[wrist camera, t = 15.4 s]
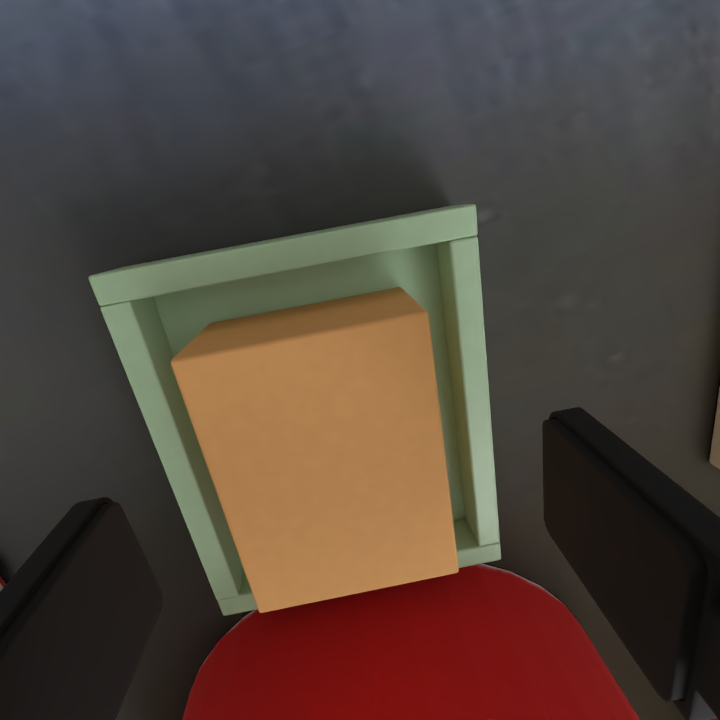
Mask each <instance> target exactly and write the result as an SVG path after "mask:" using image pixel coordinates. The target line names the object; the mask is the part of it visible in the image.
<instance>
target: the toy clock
mask: <svg viewBox="0 0 720 720" xmlns="http://www.w3.org/2000/svg"><path fill="white" fill-rule="evenodd" d="M182 720H640V719H639V718H638V716H637V714H636V713H635V711H634V710H633V708H632V706H631V705H630V703H629V701H628V700H627V698H626V697H625V695H624V693H623V692H622V690H621V689H620V687H619V685H618V684H617V682H616V681H615V679H614V677H613V676H612V674H611V673H610V671H609V669H608V668H607V666H606V664H605V663H604V661H603V660H602V658H601V656H600V655H599V653H598V652H597V650H596V648H595V647H594V645H593V644H592V642H591V640H590V639H589V637H588V635H587V634H586V632H585V631H584V629H583V627H582V626H581V624H580V623H579V622H578V620H577V619H576V618H575V617H574V616H573V614H572V613H571V612H570V611H569V610H568V608H567V607H566V606H565V605H564V603H562V602H561V601H560V600H558V599H557V598H556V597H554V596H553V595H552V594H550V593H549V592H548V591H546V590H545V589H544V588H543V587H541V586H540V585H538V584H536V583H534V582H532V581H529V580H527V579H525V578H523V577H521V576H519V575H517V574H515V573H513V572H511V571H507V570H504V569H500V568H497V567H493V566H489V565H486V564H482V563H481V564H476V565H471V566H467V567H462V568H459V571H458V572H457V573H454V574H449V575H444V576H440V577H435V578H430V579H425V580H420V581H415V582H410V583H405V584H400V585H396V586H391V587H386V588H381V589H376V590H371V591H366V592H361V593H356V594H352V595H347V596H342V597H337V598H332V599H327V600H322V601H317V602H313V603H308V604H303V605H298V606H293V607H288V608H283V609H278V610H273V611H269V612H264V613H260V612H259V611H258V609H256V610H253V611H252V612H250V613H249V614H247V615H246V616H244V617H243V618H242V619H241V620H240V621H239V622H238V623H237V624H236V625H235V626H234V627H233V628H232V629H230V630H229V631H228V632H227V633H226V634H225V635H224V636H223V637H222V638H221V639H220V640H219V641H218V642H217V644H216V645H215V647H214V648H213V649H212V651H211V652H210V654H209V655H208V657H207V658H206V659H205V661H204V662H203V664H202V665H201V667H200V669H199V671H198V674H197V676H196V679H195V681H194V684H193V686H192V688H191V691H190V694H189V697H188V701H187V704H186V708H185V712H184V715H183V719H182Z"/></svg>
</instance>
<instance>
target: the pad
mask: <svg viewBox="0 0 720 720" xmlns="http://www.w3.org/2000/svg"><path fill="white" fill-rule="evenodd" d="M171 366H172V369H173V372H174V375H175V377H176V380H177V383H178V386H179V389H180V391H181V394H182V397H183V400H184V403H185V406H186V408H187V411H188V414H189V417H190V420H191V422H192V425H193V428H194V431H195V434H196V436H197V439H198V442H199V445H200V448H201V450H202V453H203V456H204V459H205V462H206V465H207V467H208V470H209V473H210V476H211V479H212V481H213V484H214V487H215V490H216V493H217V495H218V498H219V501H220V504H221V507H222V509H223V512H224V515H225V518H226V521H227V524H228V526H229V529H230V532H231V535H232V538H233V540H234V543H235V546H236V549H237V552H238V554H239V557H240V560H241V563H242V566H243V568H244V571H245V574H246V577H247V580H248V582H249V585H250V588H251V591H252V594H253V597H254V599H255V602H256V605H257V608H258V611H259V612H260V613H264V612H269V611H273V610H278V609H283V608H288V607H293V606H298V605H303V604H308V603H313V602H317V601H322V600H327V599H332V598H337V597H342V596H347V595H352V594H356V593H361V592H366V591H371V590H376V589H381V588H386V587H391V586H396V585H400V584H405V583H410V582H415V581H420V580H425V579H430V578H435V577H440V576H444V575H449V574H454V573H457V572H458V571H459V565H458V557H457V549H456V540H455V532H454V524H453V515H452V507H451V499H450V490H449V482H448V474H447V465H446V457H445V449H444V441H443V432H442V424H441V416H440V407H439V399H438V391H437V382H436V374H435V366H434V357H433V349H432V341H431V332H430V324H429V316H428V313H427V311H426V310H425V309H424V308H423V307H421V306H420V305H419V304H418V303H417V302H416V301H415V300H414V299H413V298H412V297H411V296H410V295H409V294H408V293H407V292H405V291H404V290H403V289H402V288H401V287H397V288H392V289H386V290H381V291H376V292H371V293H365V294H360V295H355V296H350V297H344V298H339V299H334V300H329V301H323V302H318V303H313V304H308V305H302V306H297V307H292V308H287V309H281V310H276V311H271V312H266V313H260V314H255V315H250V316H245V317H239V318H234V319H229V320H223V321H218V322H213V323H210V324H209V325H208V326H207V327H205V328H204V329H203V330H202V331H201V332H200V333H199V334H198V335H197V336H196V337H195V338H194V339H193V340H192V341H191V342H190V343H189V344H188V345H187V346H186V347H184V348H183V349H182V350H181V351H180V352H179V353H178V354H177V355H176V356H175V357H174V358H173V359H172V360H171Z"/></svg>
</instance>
